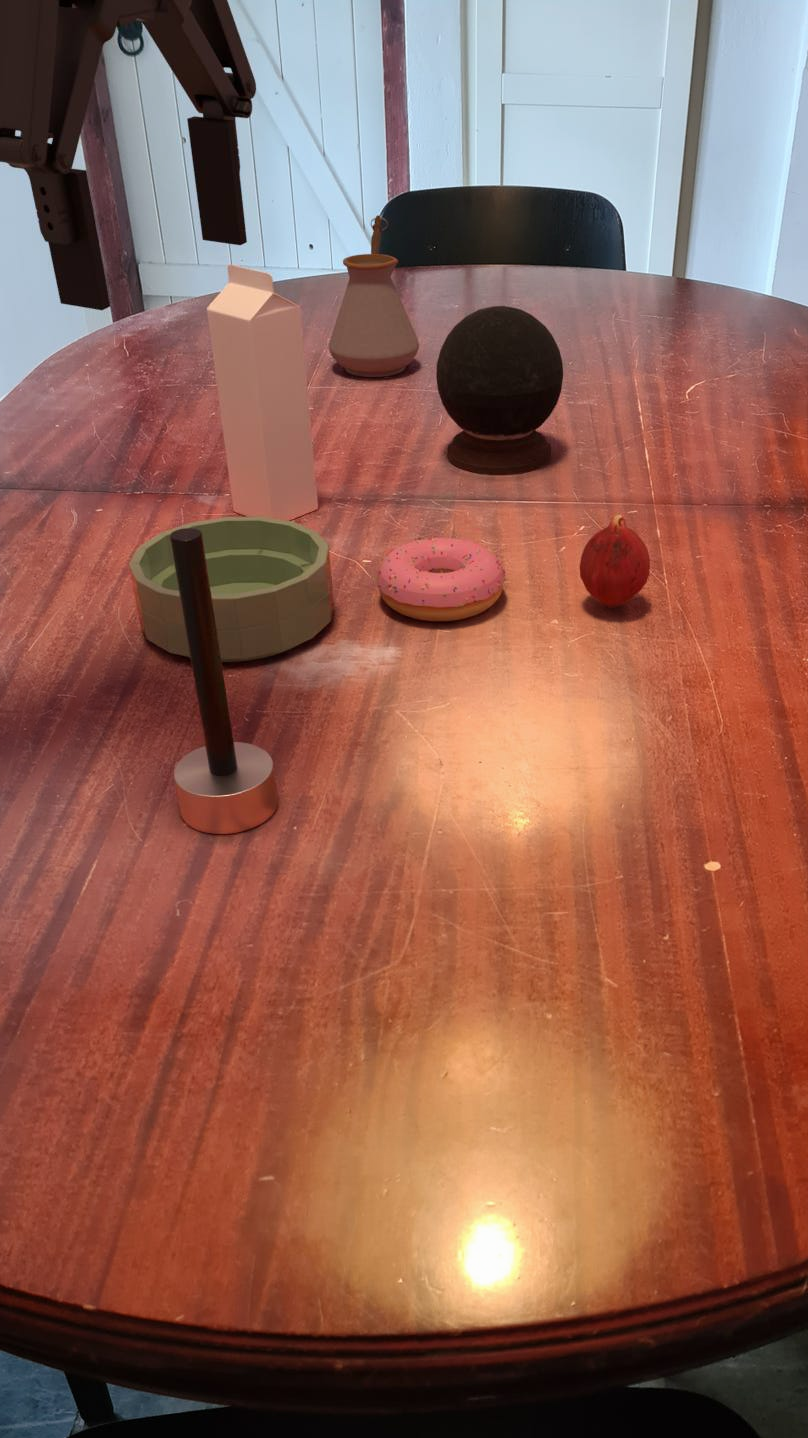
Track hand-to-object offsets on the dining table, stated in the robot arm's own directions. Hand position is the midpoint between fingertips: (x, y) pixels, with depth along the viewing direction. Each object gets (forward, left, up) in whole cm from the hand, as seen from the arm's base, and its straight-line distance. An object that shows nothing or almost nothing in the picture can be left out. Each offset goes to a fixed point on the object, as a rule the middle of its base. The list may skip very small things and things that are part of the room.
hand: (160, 271), depth 71 cm
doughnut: (+6, +24, -31) cm, 40 cm away
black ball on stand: (-2, +58, -31) cm, 66 cm away
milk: (-17, +36, -31) cm, 51 cm away
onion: (+20, +28, -31) cm, 47 cm away
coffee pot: (-30, +86, -31) cm, 97 cm away
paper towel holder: (+5, -9, -31) cm, 32 cm away
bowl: (-8, +14, -31) cm, 35 cm away
